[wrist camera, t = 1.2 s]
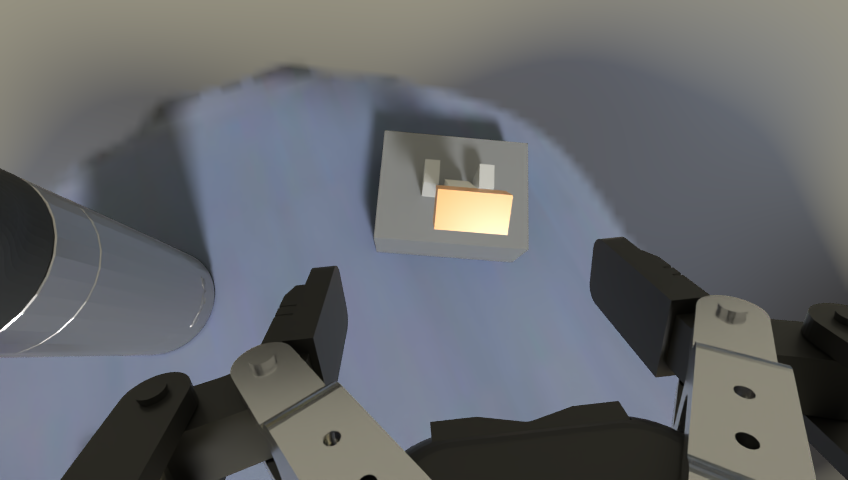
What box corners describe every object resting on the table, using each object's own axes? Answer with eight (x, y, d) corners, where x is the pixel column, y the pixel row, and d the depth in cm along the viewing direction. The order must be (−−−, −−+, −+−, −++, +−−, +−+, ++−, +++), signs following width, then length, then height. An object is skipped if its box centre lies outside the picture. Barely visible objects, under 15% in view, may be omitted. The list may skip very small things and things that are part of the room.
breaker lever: (428, 201, 34) (434, 229, 23) (430, 173, 33) (438, 188, 23) (479, 205, 34) (507, 235, 24) (483, 177, 33) (513, 195, 23)
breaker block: (376, 251, 38) (371, 226, 30) (386, 156, 40) (383, 111, 33) (511, 262, 38) (540, 240, 30) (512, 167, 41) (539, 125, 33)
